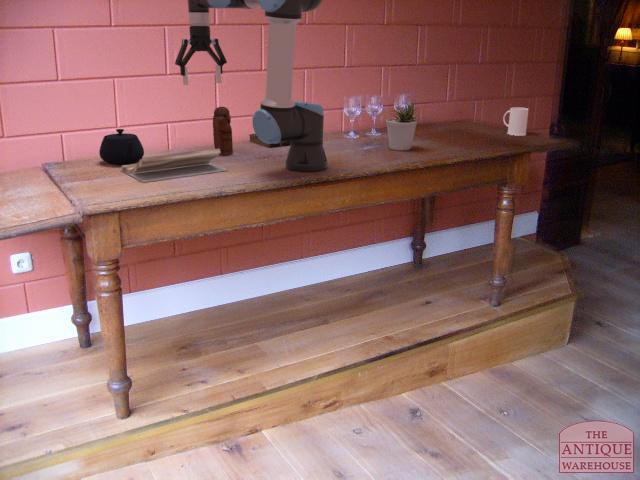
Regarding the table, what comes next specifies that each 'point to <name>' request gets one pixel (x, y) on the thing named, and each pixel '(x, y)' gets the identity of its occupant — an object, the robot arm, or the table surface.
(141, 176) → the tray
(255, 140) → the book
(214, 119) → the wooden figurine
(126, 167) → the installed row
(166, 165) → the plank
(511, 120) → the mug
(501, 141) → the table surface
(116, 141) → the teapot
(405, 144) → the potted plant
